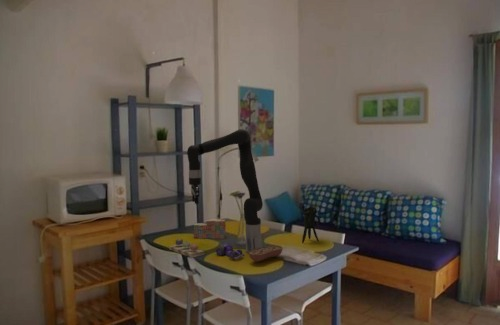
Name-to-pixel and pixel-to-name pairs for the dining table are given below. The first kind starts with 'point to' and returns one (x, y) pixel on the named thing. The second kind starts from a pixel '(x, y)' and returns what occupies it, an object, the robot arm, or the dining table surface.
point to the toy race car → (228, 251)
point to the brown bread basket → (265, 252)
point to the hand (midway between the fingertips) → (195, 202)
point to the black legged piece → (309, 221)
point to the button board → (186, 251)
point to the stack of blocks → (210, 229)
